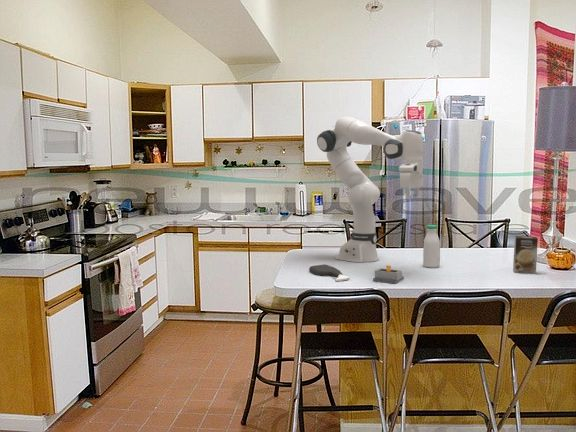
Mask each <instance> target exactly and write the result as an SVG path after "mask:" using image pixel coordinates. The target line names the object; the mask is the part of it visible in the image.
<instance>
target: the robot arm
mask: <svg viewBox="0 0 576 432" xmlns="http://www.w3.org/2000/svg"><path fill="white" fill-rule="evenodd" d="M316 143H317V147H318V148H319V150H320V151H322V152H324V153H326V158H327V160H328V163H329V164H330V166H331V168H332V169H333V171H334V172H335V174H336V175H337V176H338V178H339V180H340V181H341V182H342V183H343V185H345V186H347V187H348V188H349V189H350V190H349V192H348V197H347V198H348V201H349V203H350V204H351V205H350V206H351V209H352V215H353V231H352V232H351V233H349V235H348V236H349V237H350V239H348V241H346V242H345V243H343V244H342V245H341V246H340V248H339V253H338V254H337V255H335V256H334V259H335V260H338V261H339V260H340V261H347V262H352V263H365V262H366V263H367V262H376V261H378V260H379V257H378V251H377V232H376V215H375V212H374V208H373V205H374V204H375V203H376V202H377V201H378V200H379V199H380V196H381V191H380V189H379V187H378V186H377V185H375V184H374V183H373V182H372V180H370V179H369V177H368V176H366V174H365V173H364V172H363V171H362V170H361V169H360V167H358V165H357V163H356V161H354V159H353V158H352V156H351V155H350V154H349V152H348V151H347V147H351V146H352V144H358V145H365V146H366V145H367V146H371V145H373V146H380V147H383V149H382V150H383V154H384V156H385V157H386V158H387V159H388V160H393V161H402V163H401V165H400V166H399V167H398V172H399V184H400V185H399V186H400V189H401V190H404V194H405V199H406V200H410V199H412V198H413V199H414V198H415V199H417V198H419V193H420V188H423V186H424V174H423V170H424V165H423V164H424V160H423V158H424V157H423V152H424V139H423V135H422V132H420V131H417V130H411V129H406V130H404V131H403V132H402V133H401V134H399V135H398V136H395V135H393V134H390V133H387V132H385V131H382V130H380V129H378V128H376V127H374V126H373V125H371V124H369V123H367V122H366V121H363V120H361V119H358V118H356V117H351V116H347V115H345V116H340V117H339V118H338V119H337V120H336V122H335V126H332V127H330V128H328V129H326V130H324V131H322V132H321V133H319V134H318V136H317V138H316ZM412 189H413V194H412V195H413V197H412V195H411V190H412Z"/></svg>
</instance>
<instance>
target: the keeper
mask: <svg viewBox="0 0 576 432" xmlns="http://www.w3.org/2000/svg"><path fill="white" fill-rule="evenodd" d="M385 267H386V268H385V269H386V271H388V272H391V269H392V267H391V265H390V264H388V265H386V266H385ZM404 276H405V275H404ZM404 276H403V275H402V278H400V279H398V280H391V279H382V278H375V277H374V278H372V282H377V283H384V284H391V285H396V284H398V283H399V282H401V281H403V280H404V279H405V277H404Z"/></svg>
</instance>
